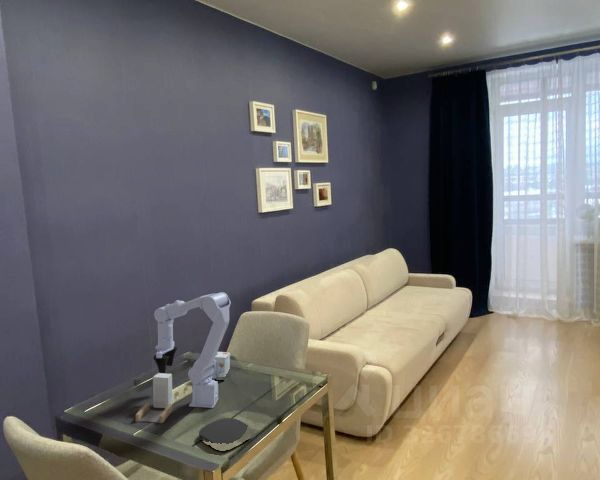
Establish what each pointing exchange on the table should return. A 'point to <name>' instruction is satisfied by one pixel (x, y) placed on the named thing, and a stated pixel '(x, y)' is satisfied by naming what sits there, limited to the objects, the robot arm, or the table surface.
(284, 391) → the table surface
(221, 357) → the light bulb box
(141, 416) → the cradle
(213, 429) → the media streaming box
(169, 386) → the skincare box
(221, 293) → the robot arm
